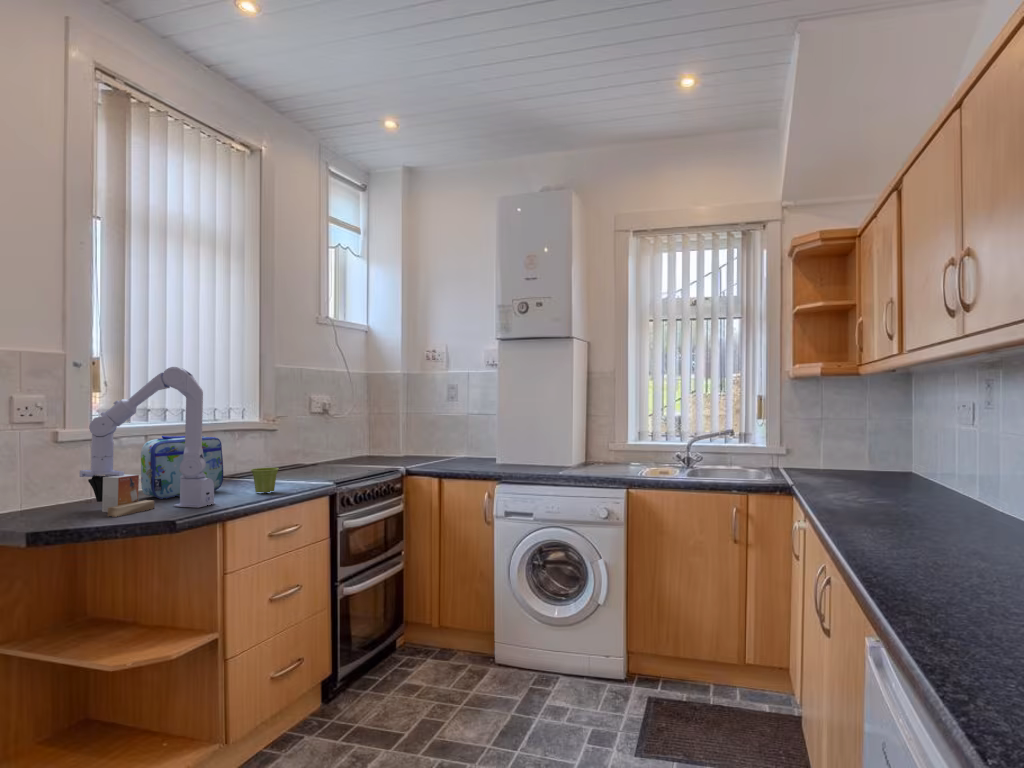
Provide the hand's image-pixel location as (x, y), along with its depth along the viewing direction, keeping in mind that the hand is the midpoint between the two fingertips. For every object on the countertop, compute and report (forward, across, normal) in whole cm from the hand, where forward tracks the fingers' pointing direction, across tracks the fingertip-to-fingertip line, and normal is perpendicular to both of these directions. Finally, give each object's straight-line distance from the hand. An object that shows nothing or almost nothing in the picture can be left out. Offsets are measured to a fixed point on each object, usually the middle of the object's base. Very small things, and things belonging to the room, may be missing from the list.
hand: (101, 501), depth 193 cm
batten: (+2, +13, -2) cm, 13 cm away
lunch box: (+3, +2, +31) cm, 31 cm away
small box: (+3, +7, 0) cm, 8 cm away
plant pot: (+3, +28, +42) cm, 50 cm away
